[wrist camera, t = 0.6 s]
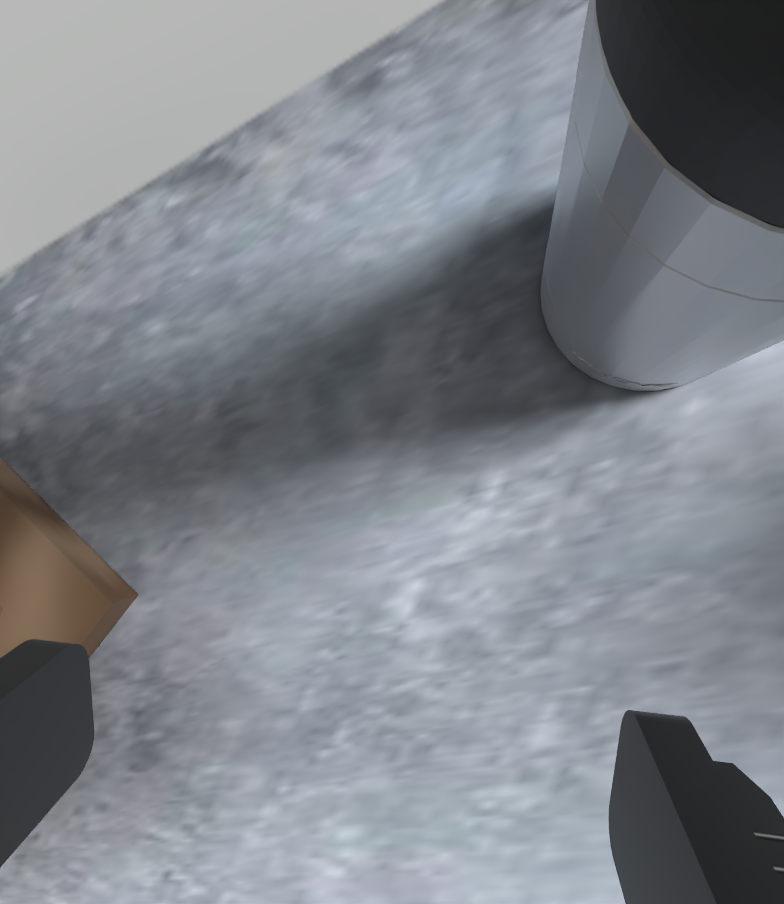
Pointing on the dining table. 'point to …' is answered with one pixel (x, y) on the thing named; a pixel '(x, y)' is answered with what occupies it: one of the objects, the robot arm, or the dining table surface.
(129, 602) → the stand
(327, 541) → the dining table surface
